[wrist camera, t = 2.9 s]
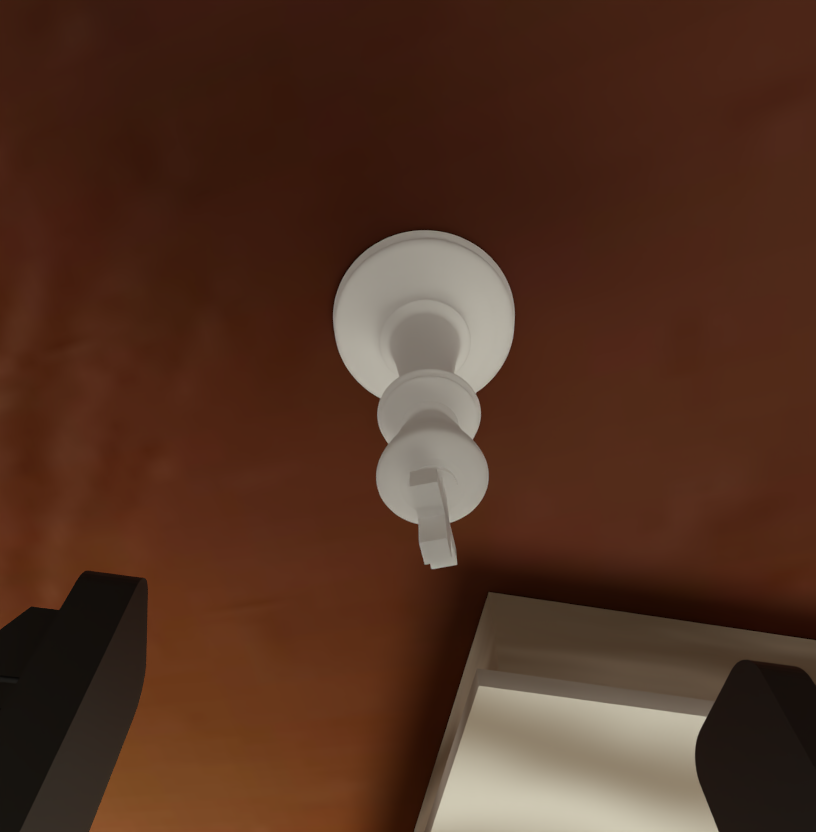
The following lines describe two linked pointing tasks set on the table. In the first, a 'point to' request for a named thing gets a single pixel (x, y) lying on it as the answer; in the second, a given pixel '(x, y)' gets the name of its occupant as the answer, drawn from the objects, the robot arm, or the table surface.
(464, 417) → the chess piece
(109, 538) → the table surface
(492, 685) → the stand
